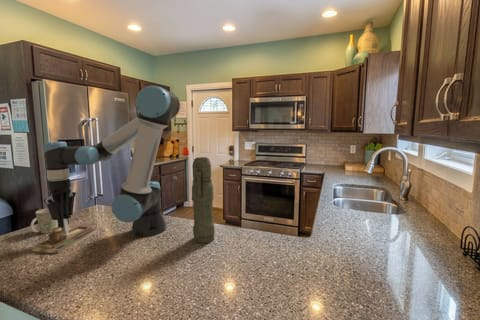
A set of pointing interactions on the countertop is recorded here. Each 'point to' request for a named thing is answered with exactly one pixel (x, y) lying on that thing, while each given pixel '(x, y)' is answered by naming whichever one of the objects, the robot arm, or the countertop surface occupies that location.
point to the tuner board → (66, 240)
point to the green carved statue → (202, 201)
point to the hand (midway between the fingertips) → (64, 233)
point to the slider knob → (57, 235)
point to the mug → (44, 221)
